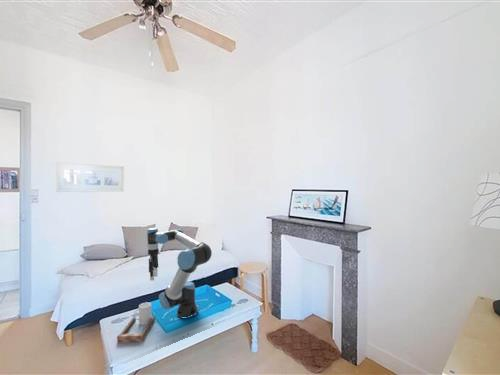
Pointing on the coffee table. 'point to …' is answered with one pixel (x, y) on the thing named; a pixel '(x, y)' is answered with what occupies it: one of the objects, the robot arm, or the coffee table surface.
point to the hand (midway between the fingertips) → (154, 278)
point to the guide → (134, 337)
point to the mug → (144, 313)
